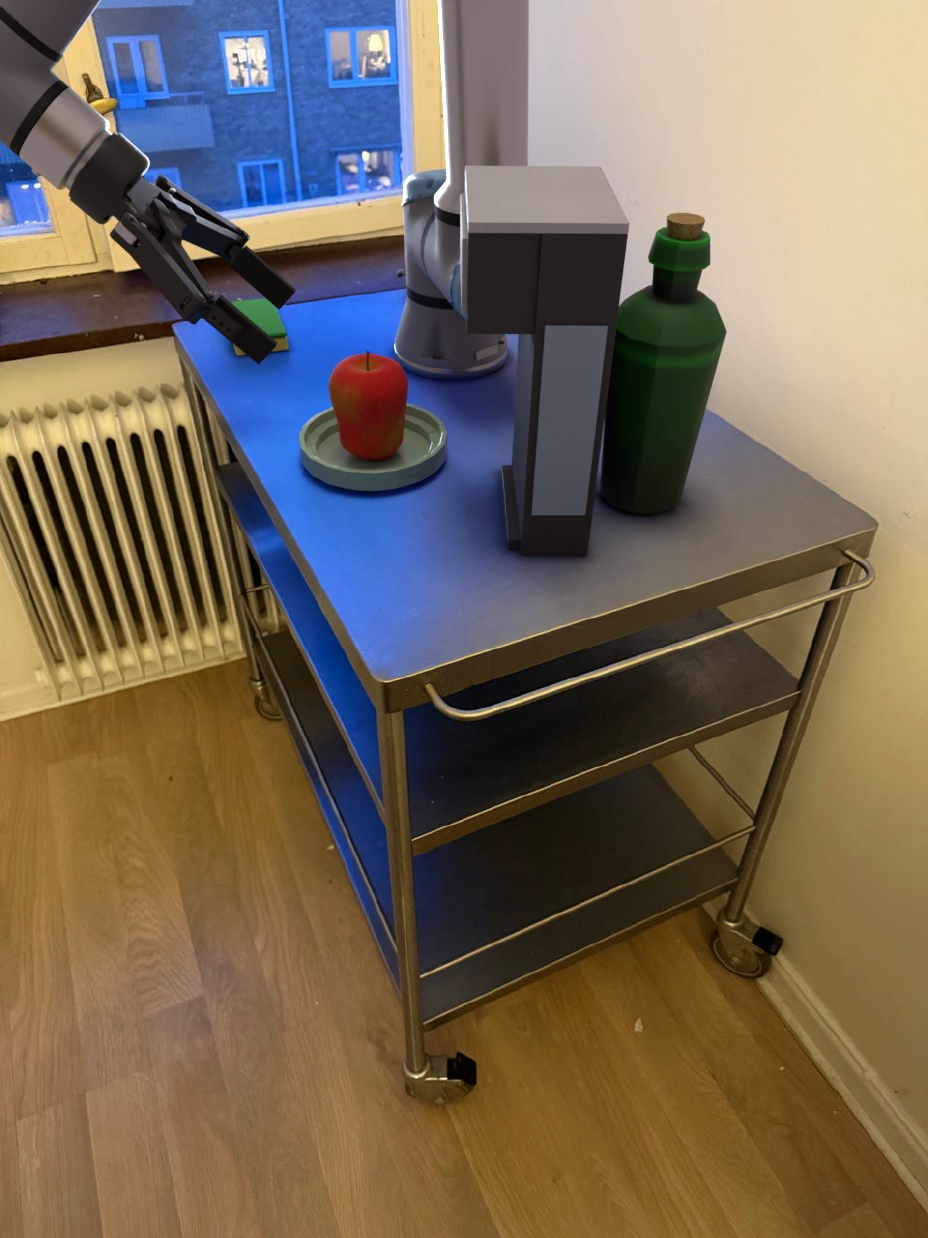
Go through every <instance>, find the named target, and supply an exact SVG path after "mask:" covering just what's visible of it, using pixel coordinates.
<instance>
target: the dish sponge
mask: <svg viewBox="0 0 928 1238" xmlns="http://www.w3.org/2000/svg"><path fill="white" fill-rule="evenodd" d="M230 302H231V303H232V304H233V305H234V306H235V307H236V308H238V309H239V310H240V311H241V312H242V313H243V314H245V315H246V316H247V317H248V318H249V319H250V320H252V321H253V322H254V323H255V324H256V325H257V326H259V327H260V328H261V329H262V330H263V331H265V332H266V333H267V334H268V335H269V336H270V337H272V338H273V339H274V340H275V341H276V342H277V346H276V347H275V348H274V349H273V350H272V351H271V352H281V351H287V350H289V341H288V340H289V339H288V333H287V331H286V327H285V325H284V322H283V320H282V318H281V315H280V312H279V310H278V309H277V308H276V307H275V306H274V305H273V304H272V303H271V302H269V301H268V300H267V299H266V298H265V297H262V298H253V299H245V300H244V299H243V300H235V301H230ZM232 345H233V349H234V353H235V355H236V356H247V355H246V354H245V353H244V352H243V351H241V350H240V349H239V348H238V347H237V346H235V345H234V344H233V343H232ZM271 352H270V353H271Z"/></svg>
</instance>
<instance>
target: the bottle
mask: <svg viewBox="0 0 928 1238" xmlns="http://www.w3.org/2000/svg"><path fill="white" fill-rule="evenodd" d="M705 223H706V219H705V217H704V216H701V215H700V214H696V213H691V212H674V213H670V214H668V215H667V216H666V226H663V227H661V228H660V229H658V230H656V232H655V233H654V234H655V235H654V237H653V240H652V243H651V245H650V249H649V252H648V255H647V260H648V263H650V264H651V265H653V266H652V278H651V279H652V281H651V284H650V285H647V286H645V287H644V288H641V289H639V290H637V291H635V292H634V293H632V294H631V295H629V296H628V297H626V298H625V299H623V301H622V302H621V303H620V304H619V309H618V317H617V325H616V333H615V341H614V349H613V356H612V364H611V372H610V380H609V388H608V396H607V404H606V412H605V419H604V427H603V436H602V453H601V468H600V469H601V470H600V494H601V497H603V499H605V500H606V502H608V503H609V504H610V505H611V506H613V507H616V508H618V509H621V510H624V511H627V512H629V513H632V514H649V515H650V514H651V515H654V514H658V513H661V512H662V513H663V512H665V511H669V510H672V509H673V508H674V507H675V506H676V505H677V504H678V503H679V502H680V500H682V496H683V492H684V489H685V486H686V481H687V478H688V474H689V470H690V467H691V463H692V459H693V456H694V453H695V449H696V446H697V441H698V438H699V433H700V430H701V427H702V424H703V420H704V416H705V412H706V408H707V405H708V402H709V397H710V395H711V391H712V387H713V383H714V380H715V376H716V373H717V369H718V365H719V361H720V358H721V355H722V351H723V347H724V344H725V341H726V340H725V339H726V336H727V333H728V331H727V328H726V326H725V323H724V320H723V318H722V316H721V313H720V310H719V309H718V306H717V304H716V302H715V301H713V300H712V299H711V298H710V297H709V296H707V295H706V294H705V293H704V292H702V291H701V290H699V289H698V287H699V284H700V280H701V277H702V274H703V270H705V269H706V268H708V267H709V266H710V265H711V236H710V233H709V232H708V231H705V230H703V228H704V225H705Z"/></svg>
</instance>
